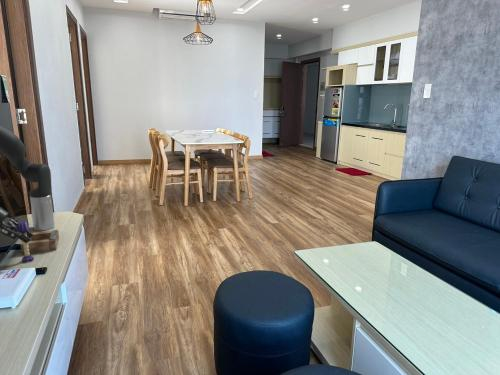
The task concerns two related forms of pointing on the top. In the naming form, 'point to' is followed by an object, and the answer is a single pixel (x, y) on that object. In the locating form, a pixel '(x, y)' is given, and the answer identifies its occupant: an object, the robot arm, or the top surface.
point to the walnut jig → (42, 242)
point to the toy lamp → (24, 229)
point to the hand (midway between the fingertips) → (30, 238)
